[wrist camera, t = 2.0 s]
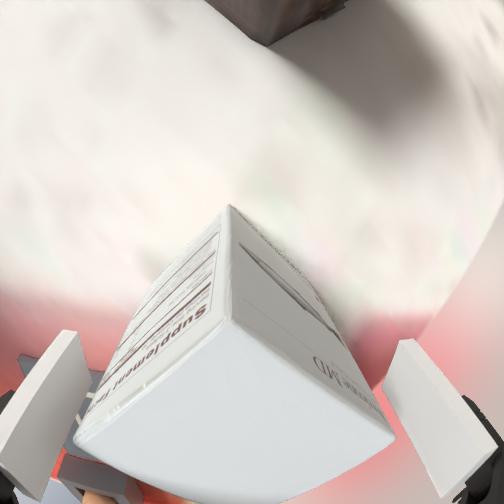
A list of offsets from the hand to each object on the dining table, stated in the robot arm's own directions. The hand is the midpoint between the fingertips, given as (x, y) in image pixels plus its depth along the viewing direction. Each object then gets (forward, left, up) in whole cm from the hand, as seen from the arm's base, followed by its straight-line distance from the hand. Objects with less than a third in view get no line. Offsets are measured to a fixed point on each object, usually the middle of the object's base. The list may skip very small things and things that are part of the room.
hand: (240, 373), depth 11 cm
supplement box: (0, 0, -8) cm, 8 cm away
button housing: (-16, -30, -8) cm, 35 cm away
